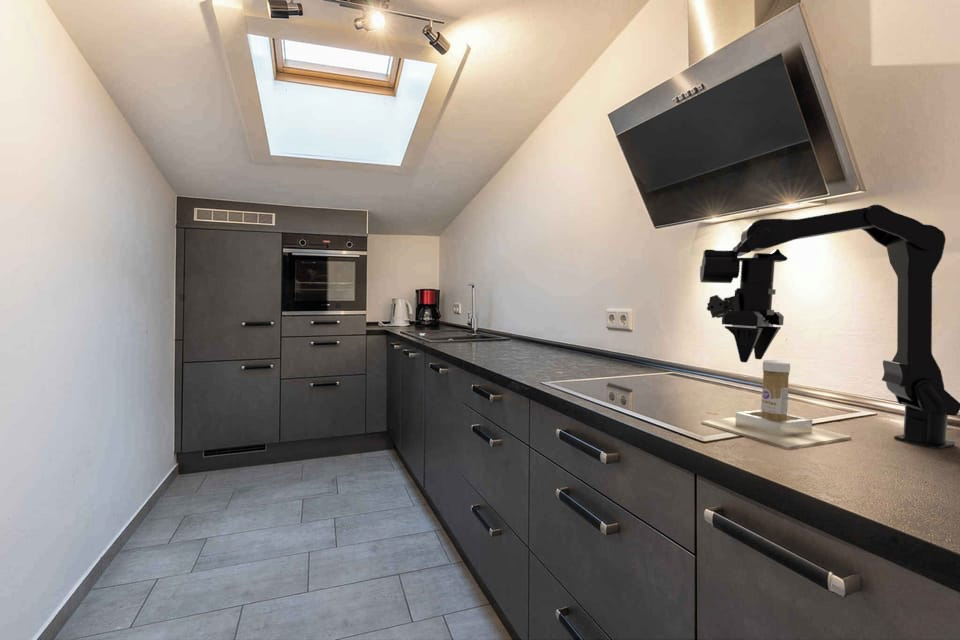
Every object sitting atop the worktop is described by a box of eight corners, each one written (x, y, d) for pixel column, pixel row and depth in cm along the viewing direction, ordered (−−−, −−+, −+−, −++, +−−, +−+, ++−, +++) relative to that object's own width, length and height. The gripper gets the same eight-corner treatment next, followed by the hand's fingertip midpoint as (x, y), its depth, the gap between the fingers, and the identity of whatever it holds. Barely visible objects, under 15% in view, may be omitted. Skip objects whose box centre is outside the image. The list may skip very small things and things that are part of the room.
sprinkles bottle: (754, 426, 92) (757, 360, 92) (769, 424, 94) (772, 359, 94) (777, 432, 88) (780, 363, 88) (792, 430, 90) (795, 362, 90)
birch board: (760, 416, 103) (760, 414, 103) (851, 439, 87) (851, 436, 87) (701, 423, 96) (701, 421, 96) (787, 449, 80) (788, 446, 80)
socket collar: (766, 420, 97) (766, 409, 97) (811, 432, 89) (812, 419, 89) (735, 424, 94) (735, 412, 94) (779, 437, 85) (780, 423, 85)
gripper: (729, 285, 105) (725, 353, 106) (696, 281, 92) (692, 358, 93) (786, 286, 97) (781, 359, 98) (759, 281, 84) (753, 366, 85)
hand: (751, 360), depth 94 cm, fingers open, 9 cm apart
